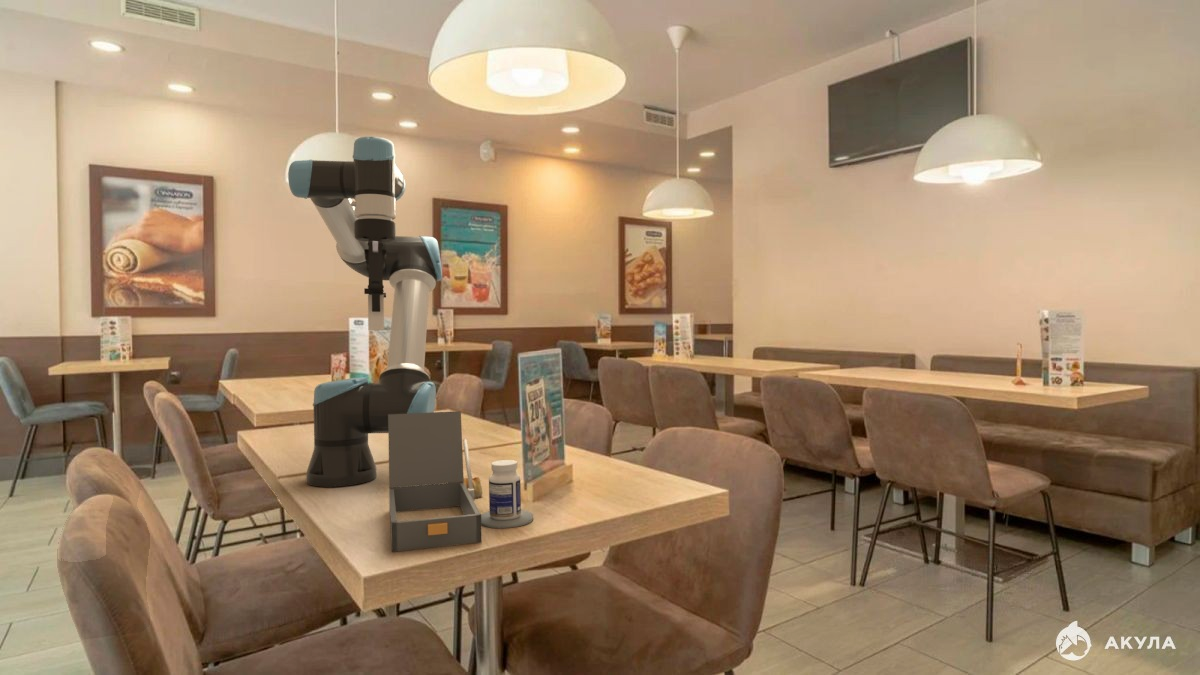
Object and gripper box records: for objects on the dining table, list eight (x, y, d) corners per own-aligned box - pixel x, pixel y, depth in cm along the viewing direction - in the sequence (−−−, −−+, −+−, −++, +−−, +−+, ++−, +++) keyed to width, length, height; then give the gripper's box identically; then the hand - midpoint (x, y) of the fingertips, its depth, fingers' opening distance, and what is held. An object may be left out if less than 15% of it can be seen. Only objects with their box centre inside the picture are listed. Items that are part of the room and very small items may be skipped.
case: (389, 505, 131) (388, 414, 130) (466, 499, 135) (465, 410, 135) (392, 553, 103) (390, 437, 103) (488, 542, 108) (487, 431, 108)
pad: (474, 515, 124) (474, 511, 124) (526, 509, 127) (526, 506, 127) (482, 530, 114) (482, 527, 114) (538, 524, 118) (538, 521, 118)
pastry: (438, 503, 133) (438, 484, 133) (434, 495, 140) (433, 477, 140) (484, 498, 137) (484, 480, 137) (478, 490, 143) (478, 473, 143)
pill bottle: (506, 510, 125) (505, 457, 125) (527, 515, 121) (526, 461, 121) (482, 517, 120) (482, 462, 120) (504, 523, 117) (503, 467, 117)
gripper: (356, 228, 138) (357, 329, 139) (351, 208, 115) (353, 330, 115) (393, 229, 141) (395, 329, 141) (397, 210, 117) (398, 330, 118)
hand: (376, 330), depth 128 cm, fingers open, 13 cm apart
